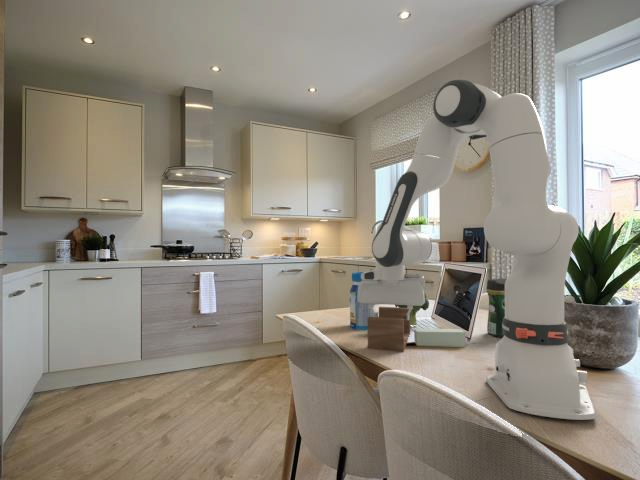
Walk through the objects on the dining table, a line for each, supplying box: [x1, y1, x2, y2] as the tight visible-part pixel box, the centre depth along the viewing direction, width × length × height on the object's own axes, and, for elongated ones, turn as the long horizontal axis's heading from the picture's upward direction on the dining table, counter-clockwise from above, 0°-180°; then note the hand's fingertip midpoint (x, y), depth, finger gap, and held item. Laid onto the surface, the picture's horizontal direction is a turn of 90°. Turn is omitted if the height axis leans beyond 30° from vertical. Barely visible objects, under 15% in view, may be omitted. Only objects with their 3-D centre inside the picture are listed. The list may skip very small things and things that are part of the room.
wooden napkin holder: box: [367, 306, 411, 353], centre depth 116 cm, size 20×10×9 cm, turn 161°
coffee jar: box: [486, 277, 507, 338], centre depth 124 cm, size 10×8×19 cm
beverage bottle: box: [349, 271, 373, 331], centre depth 133 cm, size 8×8×20 cm
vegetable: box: [394, 292, 430, 326], centre depth 135 cm, size 12×13×15 cm
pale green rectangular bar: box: [413, 328, 467, 348], centre depth 112 cm, size 14×4×4 cm, turn 86°
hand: (390, 319), depth 116 cm, fingers open, 8 cm apart
